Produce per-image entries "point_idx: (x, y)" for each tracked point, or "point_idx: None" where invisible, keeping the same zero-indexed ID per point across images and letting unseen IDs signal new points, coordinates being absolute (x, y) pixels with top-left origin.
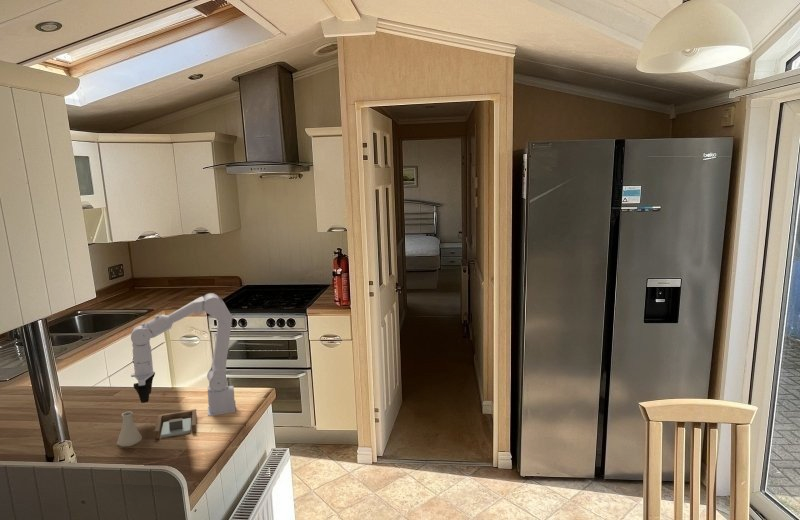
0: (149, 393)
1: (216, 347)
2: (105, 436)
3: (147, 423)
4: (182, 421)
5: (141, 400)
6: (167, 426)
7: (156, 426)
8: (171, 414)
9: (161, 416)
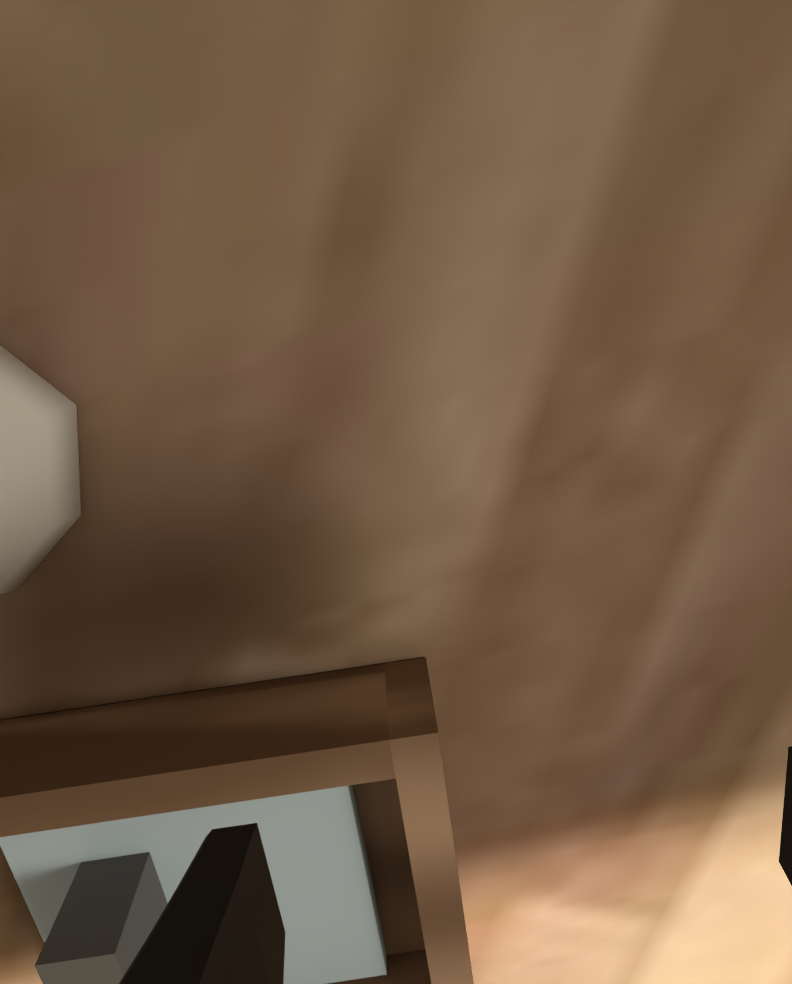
0: (787, 850)
1: None
2: (158, 26)
3: (467, 527)
4: (307, 923)
5: (180, 899)
6: (205, 817)
7: (52, 796)
8: (412, 866)
9: (368, 781)
